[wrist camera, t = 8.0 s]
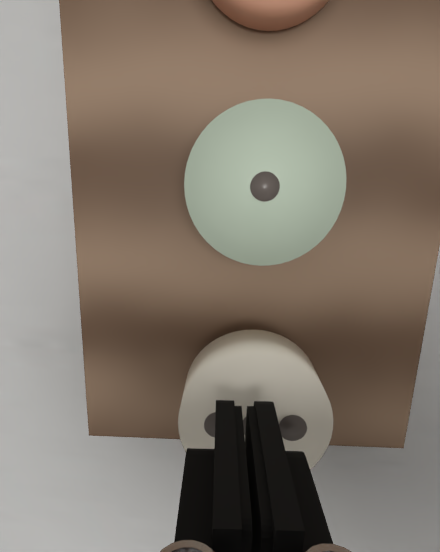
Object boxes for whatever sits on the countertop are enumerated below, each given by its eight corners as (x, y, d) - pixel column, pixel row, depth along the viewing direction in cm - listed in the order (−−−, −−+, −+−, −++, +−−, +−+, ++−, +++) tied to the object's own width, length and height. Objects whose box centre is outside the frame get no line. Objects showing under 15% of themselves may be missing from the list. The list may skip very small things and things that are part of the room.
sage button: (321, 257, 13) (338, 268, 11) (190, 252, 13) (183, 263, 11) (335, 114, 12) (356, 99, 10) (191, 111, 12) (183, 95, 10)
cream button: (311, 450, 14) (326, 494, 12) (184, 445, 14) (177, 488, 12) (324, 332, 13) (342, 358, 11) (185, 327, 13) (177, 352, 11)
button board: (375, 407, 19) (403, 448, 16) (110, 397, 19) (88, 435, 16) (453, -108, 13) (516, -191, 10) (85, -114, 14) (46, -197, 11)
